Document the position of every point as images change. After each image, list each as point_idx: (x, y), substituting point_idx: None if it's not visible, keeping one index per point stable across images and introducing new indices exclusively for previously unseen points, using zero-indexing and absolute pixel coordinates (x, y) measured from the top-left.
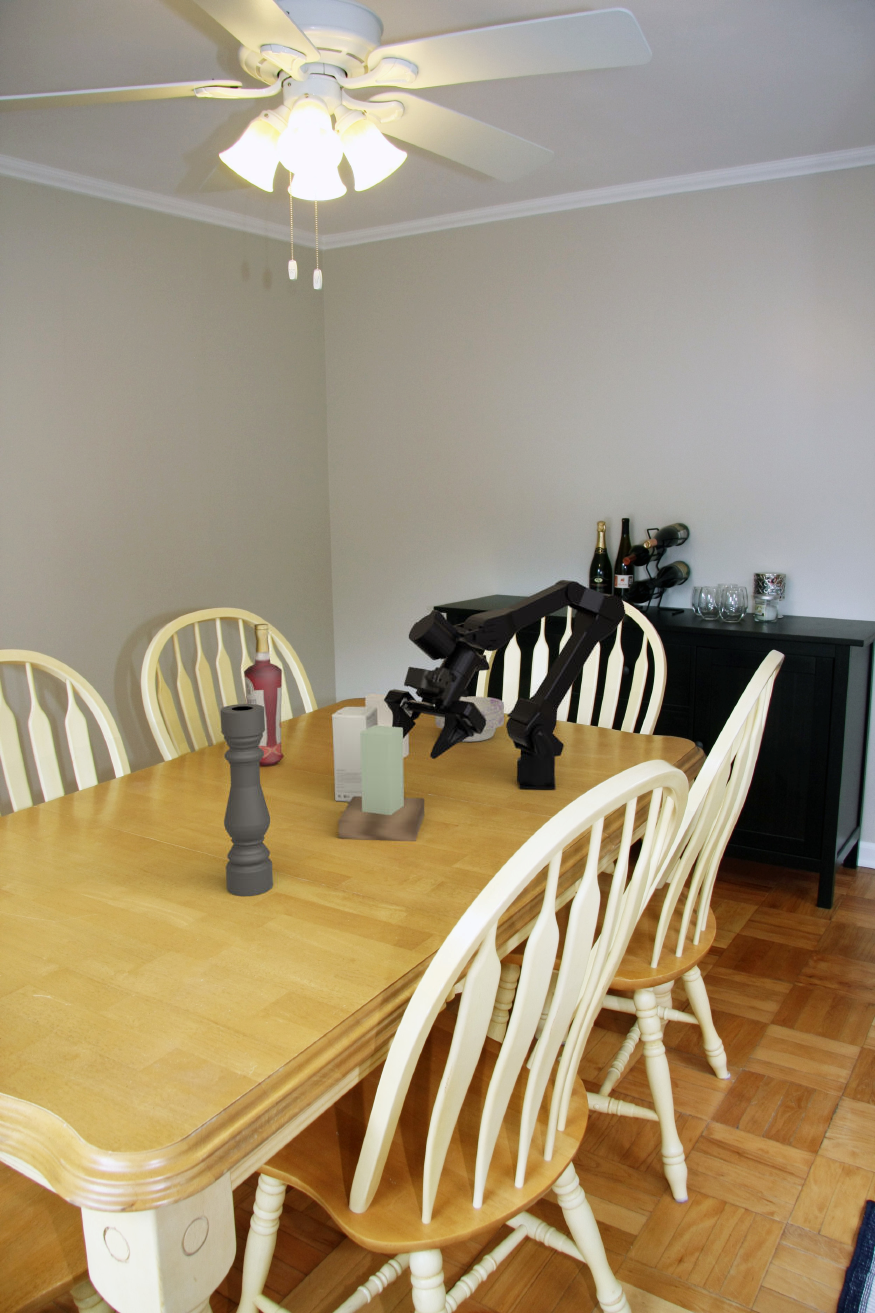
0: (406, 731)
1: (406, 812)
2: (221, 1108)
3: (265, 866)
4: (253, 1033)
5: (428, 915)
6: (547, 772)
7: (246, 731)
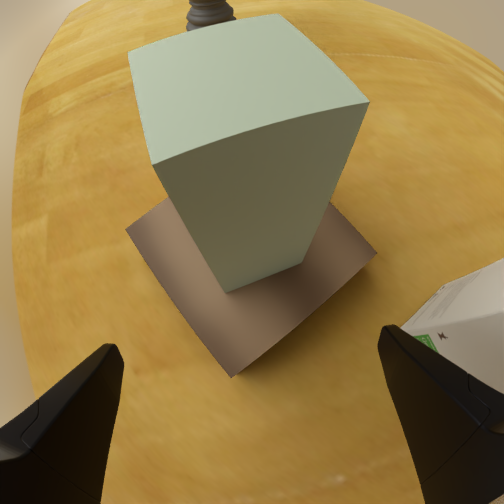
0: (422, 461)
1: (182, 261)
2: (66, 19)
3: (187, 25)
4: (77, 25)
5: (32, 125)
6: None
7: None
